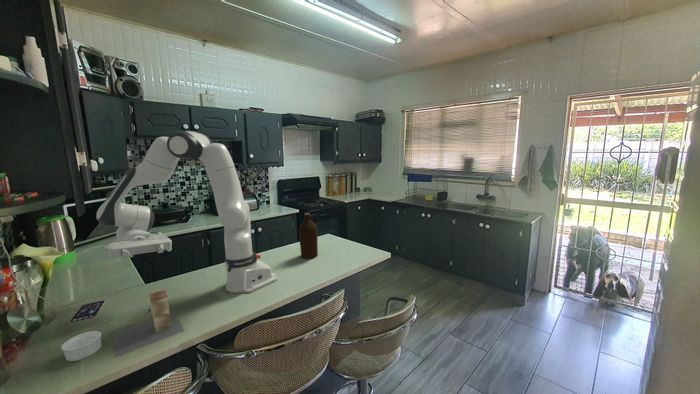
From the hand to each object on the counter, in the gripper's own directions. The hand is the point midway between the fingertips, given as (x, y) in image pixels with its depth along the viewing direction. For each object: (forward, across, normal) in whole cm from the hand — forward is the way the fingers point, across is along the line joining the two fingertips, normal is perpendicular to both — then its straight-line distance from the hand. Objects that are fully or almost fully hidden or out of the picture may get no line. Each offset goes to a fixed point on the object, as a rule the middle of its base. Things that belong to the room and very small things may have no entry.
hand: (146, 253), depth 105 cm
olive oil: (+8, +76, +14) cm, 78 cm away
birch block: (+18, +1, +21) cm, 28 cm away
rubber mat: (+18, -3, +22) cm, 28 cm away
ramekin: (+13, -19, +24) cm, 33 cm away
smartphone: (-18, -14, +28) cm, 36 cm away
